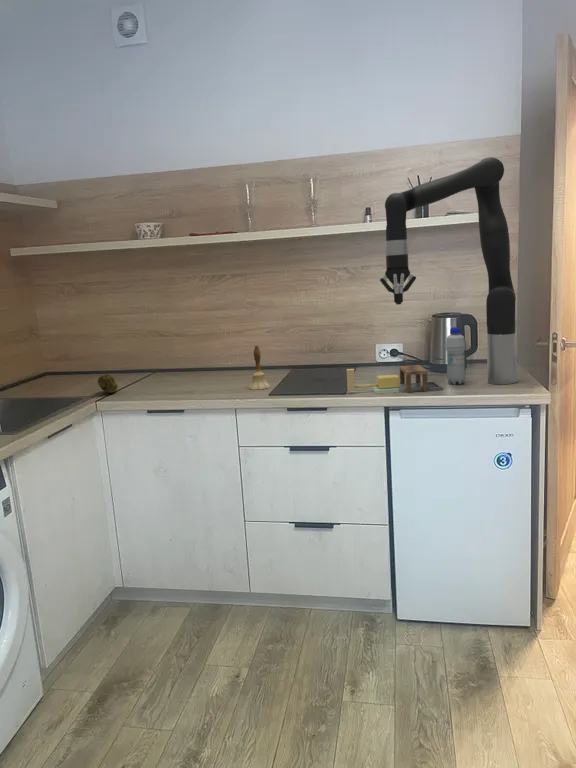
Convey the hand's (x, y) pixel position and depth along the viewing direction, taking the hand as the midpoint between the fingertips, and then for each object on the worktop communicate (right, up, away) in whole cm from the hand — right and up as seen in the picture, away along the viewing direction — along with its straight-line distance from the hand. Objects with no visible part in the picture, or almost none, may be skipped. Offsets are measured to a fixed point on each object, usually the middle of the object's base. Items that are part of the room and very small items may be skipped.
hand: (398, 304), depth 220 cm
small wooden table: (+5, -30, -1) cm, 30 cm away
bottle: (+21, -28, +3) cm, 35 cm away
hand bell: (-49, -29, +19) cm, 60 cm away
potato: (-109, -32, +27) cm, 116 cm away
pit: (+11, -29, -1) cm, 31 cm away
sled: (-9, -29, -2) cm, 30 cm away
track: (0, -30, -1) cm, 30 cm away
